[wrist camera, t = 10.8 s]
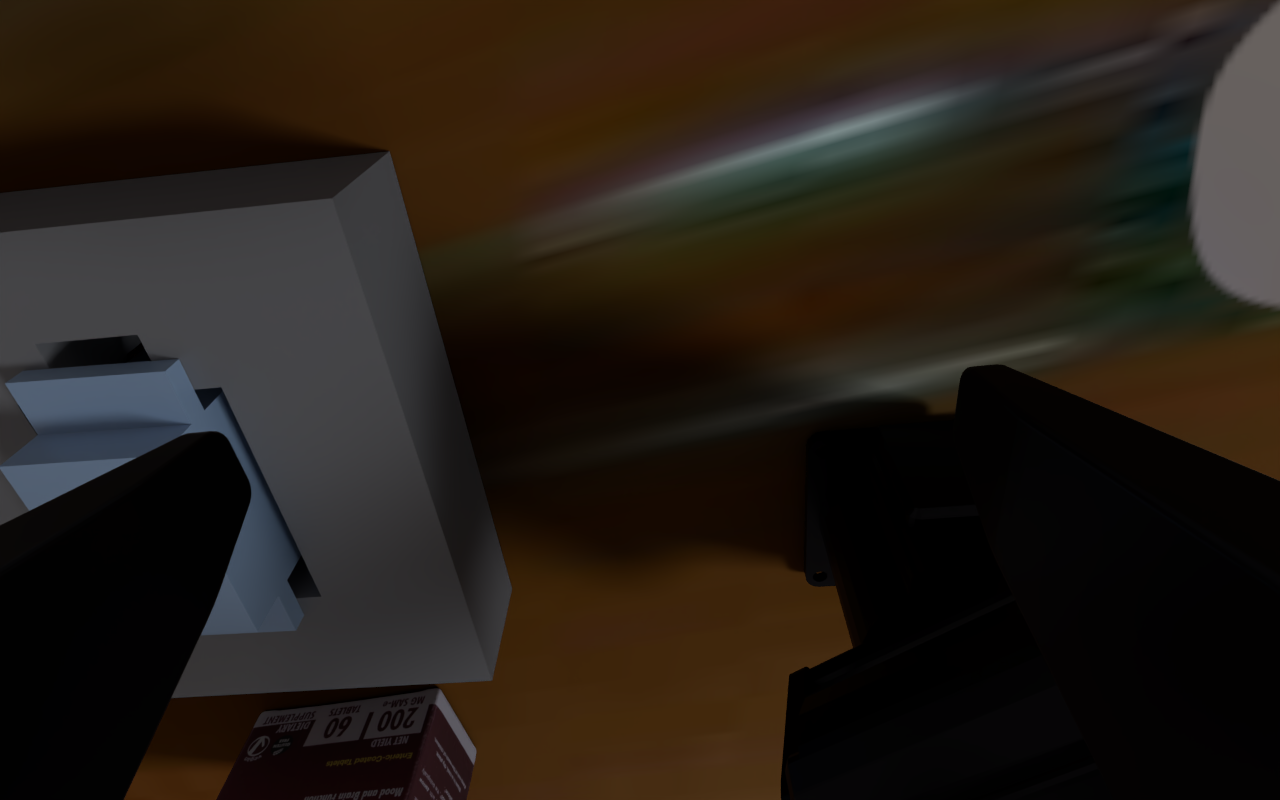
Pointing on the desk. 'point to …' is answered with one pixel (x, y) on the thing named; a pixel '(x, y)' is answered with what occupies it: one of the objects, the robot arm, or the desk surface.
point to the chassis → (284, 397)
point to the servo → (133, 425)
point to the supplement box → (356, 752)
